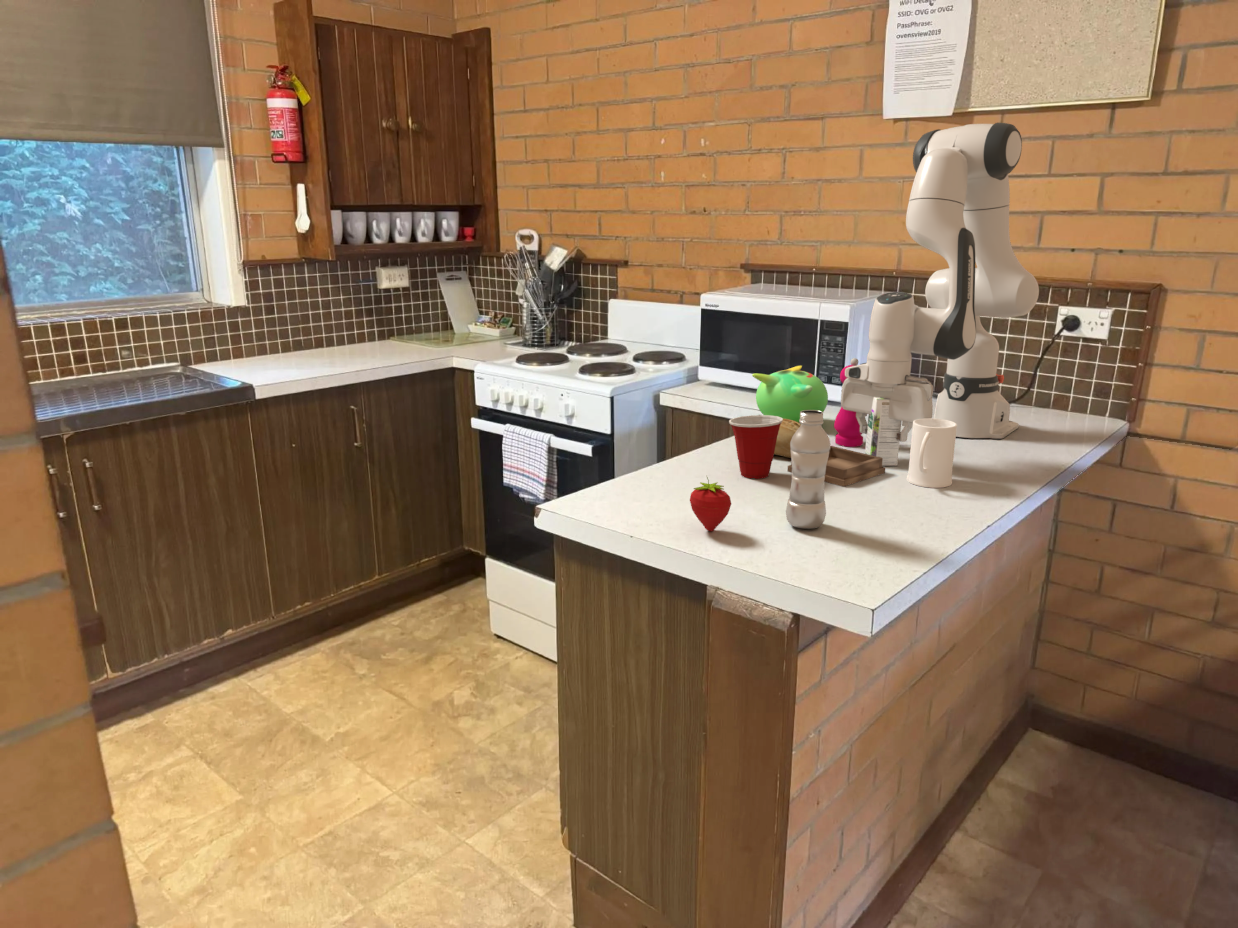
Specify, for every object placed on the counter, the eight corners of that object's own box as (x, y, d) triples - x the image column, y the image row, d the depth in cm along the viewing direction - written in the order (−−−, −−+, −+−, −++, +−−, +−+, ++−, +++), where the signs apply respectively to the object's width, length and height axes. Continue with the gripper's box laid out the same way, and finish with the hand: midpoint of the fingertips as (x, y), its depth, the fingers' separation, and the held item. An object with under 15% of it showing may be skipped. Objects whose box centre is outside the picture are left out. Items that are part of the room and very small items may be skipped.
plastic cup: (748, 464, 179) (750, 409, 175) (791, 474, 171) (793, 417, 168) (716, 475, 171) (717, 418, 168) (759, 486, 164) (761, 427, 160)
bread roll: (756, 445, 194) (758, 411, 192) (818, 454, 186) (820, 419, 184) (738, 454, 186) (739, 420, 184) (801, 464, 178) (803, 428, 176)
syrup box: (863, 458, 181) (868, 393, 177) (891, 458, 181) (896, 393, 177) (870, 466, 176) (875, 399, 172) (898, 466, 176) (904, 398, 172)
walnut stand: (829, 458, 182) (830, 444, 181) (884, 472, 171) (886, 458, 170) (787, 471, 173) (788, 456, 172) (843, 486, 163) (844, 471, 162)
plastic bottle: (780, 520, 145) (785, 408, 139) (818, 519, 145) (825, 407, 140) (791, 534, 139) (797, 417, 133) (830, 532, 139) (838, 416, 134)
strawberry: (715, 541, 136) (717, 483, 133) (681, 530, 141) (681, 474, 138) (738, 532, 140) (740, 475, 137) (703, 521, 145) (704, 466, 142)
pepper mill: (866, 448, 190) (872, 361, 184) (833, 446, 191) (839, 360, 185) (863, 440, 196) (869, 356, 191) (832, 439, 198) (837, 355, 192)
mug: (936, 495, 157) (942, 433, 154) (892, 486, 163) (897, 426, 159) (958, 480, 166) (964, 422, 162) (916, 472, 171) (921, 415, 168)
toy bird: (834, 421, 215) (838, 365, 210) (811, 435, 201) (815, 375, 197) (769, 414, 224) (771, 359, 220) (743, 427, 210) (745, 369, 206)
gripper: (942, 377, 167) (935, 443, 171) (856, 365, 182) (851, 426, 186) (924, 381, 163) (918, 449, 167) (838, 368, 179) (834, 430, 182)
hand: (882, 437), depth 177 cm, fingers closed on syrup box, 8 cm apart
